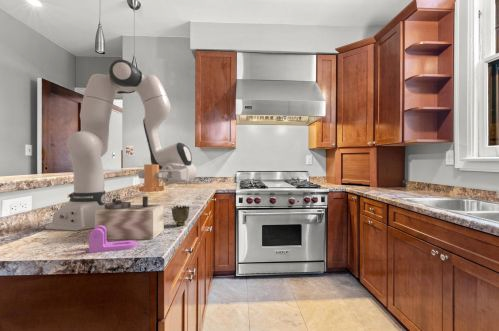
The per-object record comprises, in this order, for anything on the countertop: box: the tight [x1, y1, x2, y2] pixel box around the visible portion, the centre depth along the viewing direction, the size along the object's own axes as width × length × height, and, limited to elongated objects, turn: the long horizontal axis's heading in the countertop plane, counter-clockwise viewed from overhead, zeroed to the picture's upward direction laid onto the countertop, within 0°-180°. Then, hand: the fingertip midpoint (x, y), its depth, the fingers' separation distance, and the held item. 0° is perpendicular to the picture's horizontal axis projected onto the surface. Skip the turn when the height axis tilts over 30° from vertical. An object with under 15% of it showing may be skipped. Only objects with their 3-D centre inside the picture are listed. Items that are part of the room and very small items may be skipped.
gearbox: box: [95, 196, 165, 240], centre depth 102 cm, size 20×13×14 cm, turn 92°
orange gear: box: [138, 163, 165, 193], centre depth 105 cm, size 9×9×10 cm
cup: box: [171, 205, 190, 227], centre depth 116 cm, size 8×7×8 cm
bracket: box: [88, 225, 138, 254], centre depth 86 cm, size 13×6×7 cm, turn 109°
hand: (150, 175), depth 104 cm, fingers closed on orange gear, 5 cm apart
